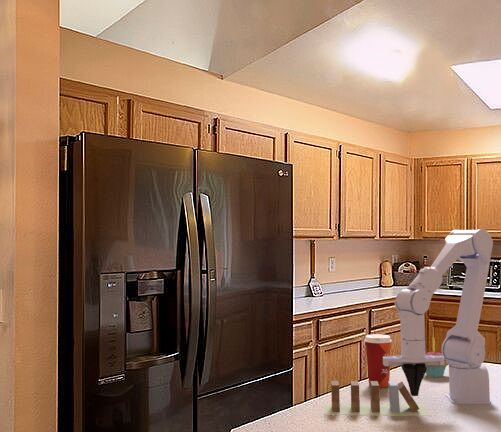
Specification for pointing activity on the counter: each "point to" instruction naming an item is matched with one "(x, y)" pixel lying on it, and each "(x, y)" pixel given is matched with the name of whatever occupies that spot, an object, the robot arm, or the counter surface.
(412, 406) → the tile
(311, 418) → the counter surface
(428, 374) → the cupcake
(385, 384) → the paper cup
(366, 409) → the mat
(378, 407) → the tile
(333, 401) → the tile
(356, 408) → the tile
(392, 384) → the tile
